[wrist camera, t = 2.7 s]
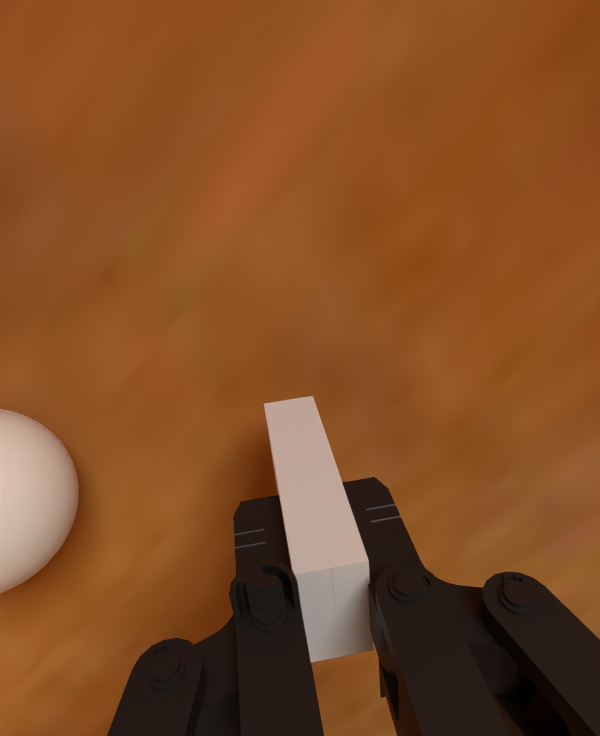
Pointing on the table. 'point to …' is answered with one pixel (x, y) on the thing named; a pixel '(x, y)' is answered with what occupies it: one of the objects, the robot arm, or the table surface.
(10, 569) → the cue ball
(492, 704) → the robot arm
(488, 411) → the table surface
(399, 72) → the table surface
